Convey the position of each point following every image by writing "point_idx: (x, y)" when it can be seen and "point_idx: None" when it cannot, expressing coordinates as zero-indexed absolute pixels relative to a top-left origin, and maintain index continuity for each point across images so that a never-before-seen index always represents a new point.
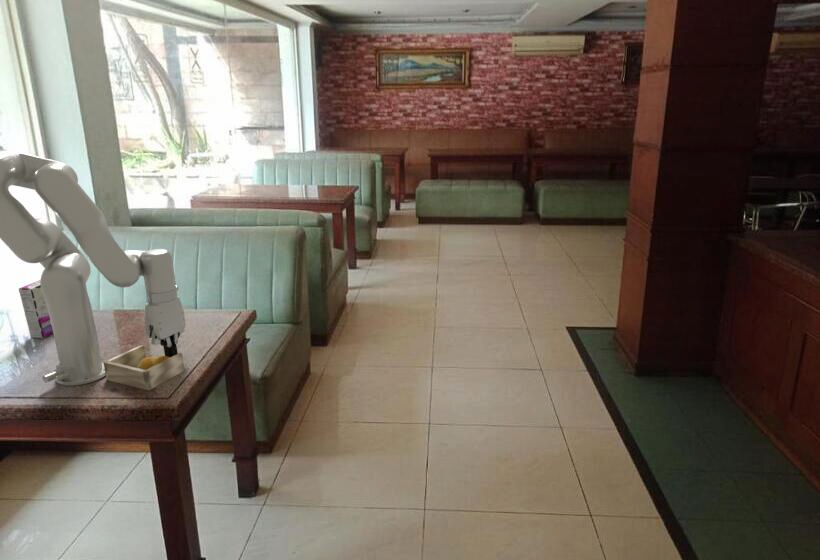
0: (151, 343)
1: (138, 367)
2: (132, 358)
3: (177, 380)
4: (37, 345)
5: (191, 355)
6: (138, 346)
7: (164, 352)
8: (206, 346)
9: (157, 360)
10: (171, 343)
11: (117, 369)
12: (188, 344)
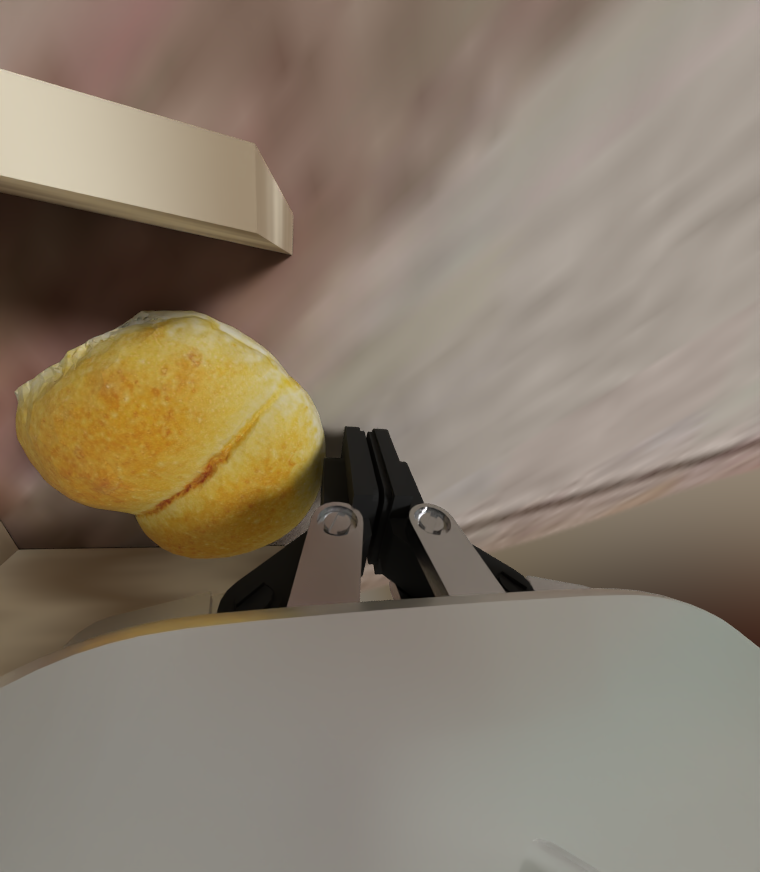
0: (66, 644)
1: (18, 407)
2: (35, 193)
3: None
4: None
5: (453, 481)
6: (165, 136)
7: (324, 474)
8: (563, 477)
9: (170, 527)
10: (383, 558)
11: None
12: (611, 369)
